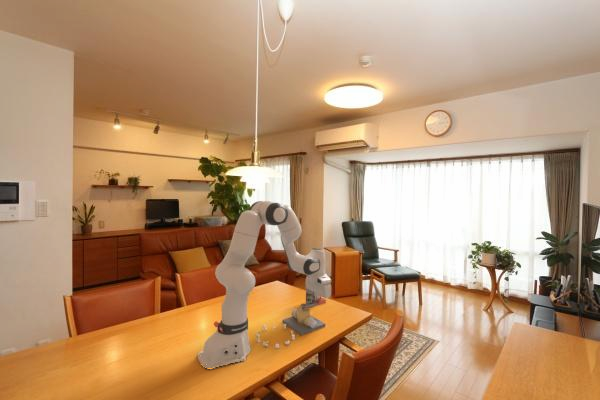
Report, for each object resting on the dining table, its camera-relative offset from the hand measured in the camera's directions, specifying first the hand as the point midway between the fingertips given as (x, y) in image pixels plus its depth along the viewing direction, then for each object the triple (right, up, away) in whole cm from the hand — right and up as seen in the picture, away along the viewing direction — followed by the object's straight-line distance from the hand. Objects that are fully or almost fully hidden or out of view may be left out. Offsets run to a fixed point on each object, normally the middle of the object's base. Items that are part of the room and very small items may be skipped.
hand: (317, 300), depth 156 cm
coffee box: (-1, -9, +20) cm, 22 cm away
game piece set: (-22, -11, -22) cm, 33 cm away
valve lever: (-3, -1, -5) cm, 6 cm away
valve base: (-8, -10, -8) cm, 15 cm away
